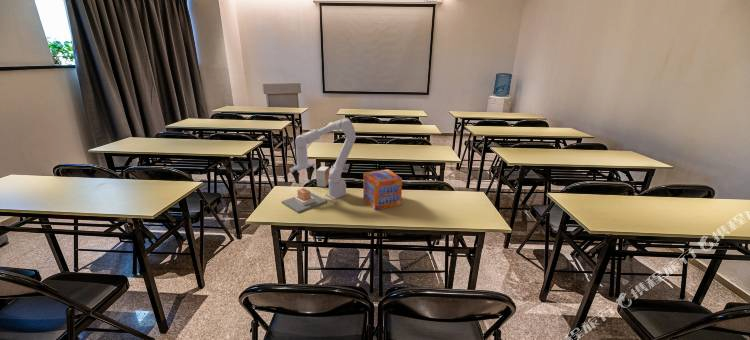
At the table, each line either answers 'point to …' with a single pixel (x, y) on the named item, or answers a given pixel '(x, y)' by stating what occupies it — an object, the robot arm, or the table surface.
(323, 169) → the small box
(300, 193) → the keyed peg
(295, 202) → the keyed socket
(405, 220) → the table surface
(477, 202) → the table surface
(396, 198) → the game box
